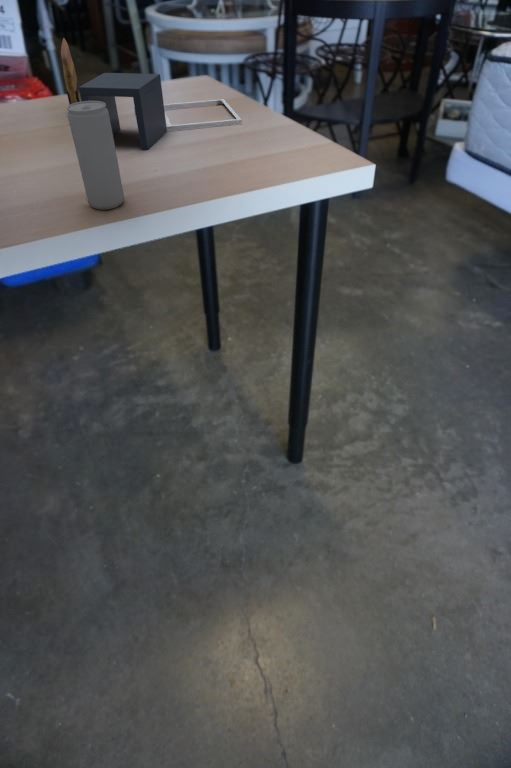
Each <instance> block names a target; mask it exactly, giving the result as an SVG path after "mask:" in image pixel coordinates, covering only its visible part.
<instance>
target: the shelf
mask: <svg viewBox="0 0 511 768" xmlns="http://www.w3.org/2000/svg"><path fill="white" fill-rule="evenodd" d="M79 92H80V95H81V101H101V102H104V103H105V104H106V107H105V108H107V110H108V113H109V118H110V123H111V128H112V134H113V136H115V134H117V133H118V132H120V130H121V123H120V118H119V112H118V108H117V102H116V97H119V98H132V99H133V105H134V106H133V107H135V111H134V114H135V113H136V114H135V119H136V125H137V131H138V137H139V144H140V149H141V151H142V150H145V151H148V150H149V149H150V148H151V147H152V146H153V145H155V144H156V143H157V142H158V140H160V139H161V138H162V137H163V136H164V135H165V134H166V133H168V132H167V128H166V119H165V113H166V112H165V111H166V110H164V104H165V103H164V97H163V96H164V94H163V87H162V79H161V73H131V72H129V73H128V72H103V73H101V74H99V75H98V76H96V77H94V78H92V79H90V80H89V81H87V82H85V83H84V84H82V85H79Z"/></svg>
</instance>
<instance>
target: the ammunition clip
mask: <svg viewBox="0 0 511 768" xmlns="http://www.w3.org/2000/svg"><path fill="white" fill-rule="evenodd" d="M60 58H61V63H62V69H63V78H64V82H65V87H66V95H67V100H68V106H69V105H70V104H73V103H77V102H82V101H81V95H80V92H79V87H80V83H79V82H80V81H79V78H78V77H77V73H76V67H75V63H74V61H73V58H72V55H71V51H70V47H69V44H68V42H67V40H66V38H65V37H62V42H61V47H60Z"/></svg>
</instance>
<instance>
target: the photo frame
mask: <svg viewBox="0 0 511 768" xmlns="http://www.w3.org/2000/svg"><path fill="white" fill-rule="evenodd" d="M218 105H224V106H225V107H226V108H227V109H228V110H229V112H230V113H231V114H232V116H234V117H235V118H234V119H225V120H222V119H221V120H212V121H202V122H192V123H181V124H172V123H171V121H170V119H169V117H168V114H167V113H166V112H165V119H166V128H167V132H166V133H169V132H180V131H189V130H198V129H208V128H217V127H227V126H238V125H242V124H243V122H242V121H243V120H242V118H241V117H240V116H239V115H238V114H237V113H236V112H235V110H234V109H233V108H232V107H231V105H230V104H229V103H228V102H227V101H226V100H225V99H224V98H222V99H209V100H198V101H185V102H184V101H183V102H173V103H164V111H172V110H183V109H194V108H195V109H196V108H204V107H205V108H207V107H215V106H218ZM133 110H134V115H136V113H135V106H133Z"/></svg>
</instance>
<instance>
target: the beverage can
mask: <svg viewBox="0 0 511 768" xmlns="http://www.w3.org/2000/svg"><path fill="white" fill-rule="evenodd" d="M105 107H106V104H105V103H104V102H101V101H82V102H77V103H73V104H70V105H69V104H68V105H67V107H66V110H67V111H68V112H67V114H66V115H67V119H68V124H69V126H70V130H71V131H70V132H71V136H72V140H73V144H74V148H75V152H76V156H77V161H78V165H79V169H80V173H81V174H80V175H81V178H82V183H83V187H84V191H85V194H86V199H87V202H88V204H89V205H90V206H91V207H92V208H93V209H95V210H101V211H106V210H113V209H115V208H118V207H120V206H121V205H122V204H123V202H124V200H125V193H124V188H123V183H122V182H123V181H122V177H121V172H120V167H119V162H118V155H117V151H116V146H115V139H114V135H113V134H112V128H111V123H110V118H109V113H108V110H107V108H105Z"/></svg>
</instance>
